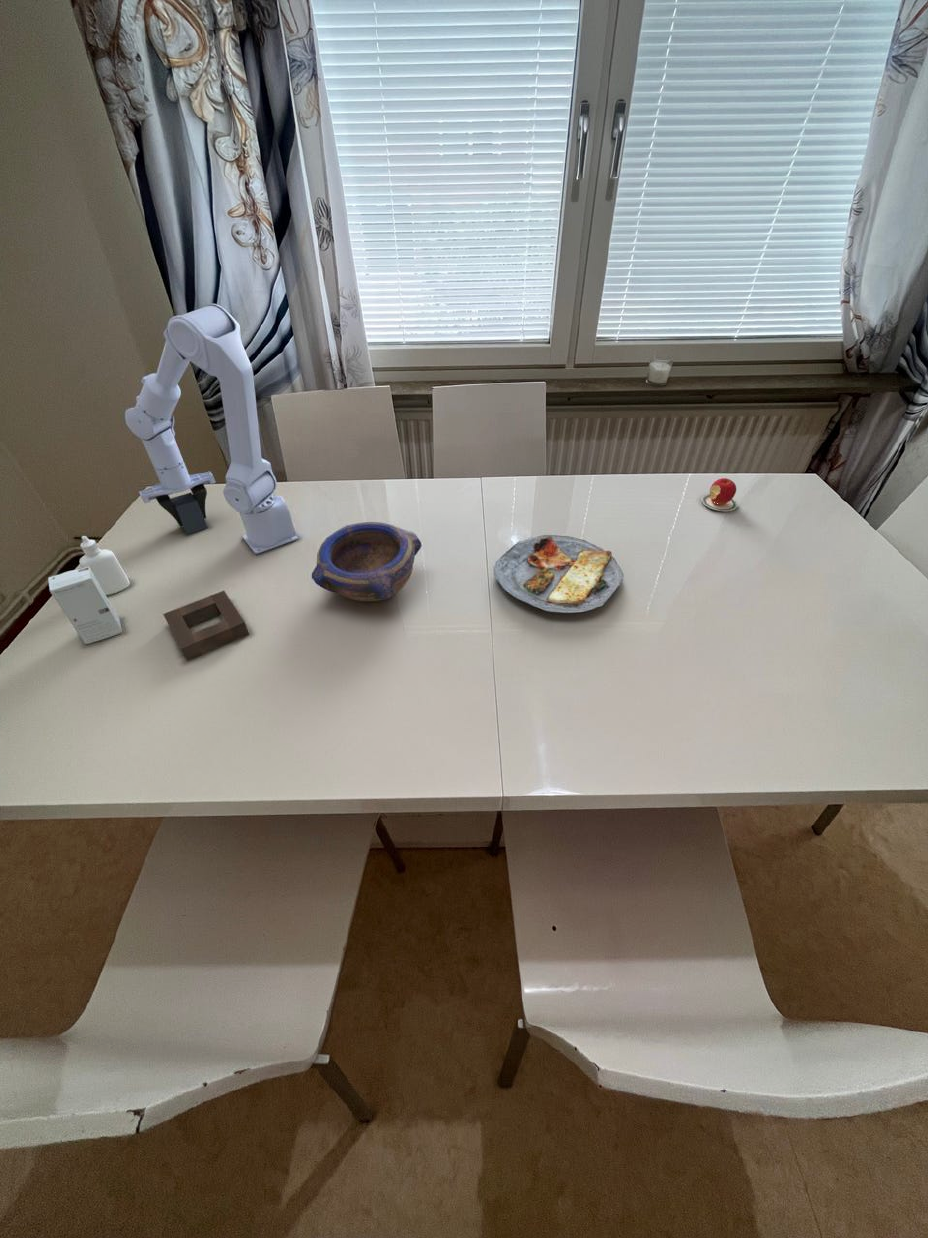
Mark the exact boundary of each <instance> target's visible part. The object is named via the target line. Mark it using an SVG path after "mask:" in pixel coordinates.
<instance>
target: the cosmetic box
mask: <svg viewBox="0 0 928 1238" xmlns="http://www.w3.org/2000/svg"><path fill="white" fill-rule="evenodd" d="M47 579H48V587H49V588H48V589H49V593H50V594H51V596H52V597H53V599H54V600H55V601H56V603H57V605H58V607H60V609H61V610H62V612H63V613H64V615H65V616H66V617H67V620H68V621H69V622H70V624H71V626H72V627H73V628H74V629H75V631H76V633H77V634H78V636H79V637H80V638H81V640H82V641H83V643H84V644H85V645H90V644H93V643H96V642H99V641H102V640H105V639H107V638H110V637H114V636H116V635H119V634H122V633H123V629H122V624H121V619H120V617H119V615H118V613H117V612H116V610H115V609H114V606H113V605H112V603H111V602H110V600H109V599H108V596H107V595H105V593H104V592H103V590H102V588H101V586H100V585H99V583H98V581H97V580H96V578H95V576H94V574H93V573H92V571H91V569H90V567H85V568H82V567H81V568H78V569H73V570H68V571H65V572H62V573H59V574H56V575H52V576H49V577H47Z"/></svg>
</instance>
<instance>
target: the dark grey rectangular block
mask: <svg viewBox="0 0 928 1238" xmlns="http://www.w3.org/2000/svg"><path fill="white" fill-rule="evenodd" d="M170 499H171V501H172V502H173V504H174V507H175V509H176V512H177V514H178V516H179V518H180V520H181V522H182V524H183V526H181V527H182V529H183V530H184V532H185V533H186V535H192V534H194V533H197V532H200V531H203V530H206V529H208V528H209V527H208V524H207V522H206V519H204V517H203V514H202V512H201V509H200V507H199V504H198V502H197V500H196V498H195V497H194V496H193V494H192V492H188V493H184V494H181V495H177V496H174V497H170Z"/></svg>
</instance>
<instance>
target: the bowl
mask: <svg viewBox="0 0 928 1238" xmlns="http://www.w3.org/2000/svg"><path fill="white" fill-rule="evenodd" d="M421 549H422V542H421V540H420V538H419V537H418V535H417V534H416V533H415V532H413V531H410V530H406V529H403V528H401V527H398V526H396V525H394V524H391V523H386V522H381V521H365V522H358V523H352V524H346V525H344V526H343V527H341V528H339V529H337V530H336V531H334V532H332V534H330V535H329V536H327V537H326V538H325V539H324V540H323V542H322V543H321V544H320V546H319V549H318V551H317V554H316V566H315V567H314V569H313V571H312V572H311V579H312V580H313V582H314V583H315V584H316V585H317V586H319V587H320V588H322V589H323V590H326V591H328V592H331V593H333V594H337V595H340V596H342V597H345V598H346V599H349V600H353V601H354V600H355V601H361V602H375V601H376V602H378V601H384V600H388V599H390V598H392V597H393V596H394V595H395V594H396V593H398V592H399V591H401V589H403V587H405V585H406V584H407V583H408V581H409V580H410V578H411V576H412V574H413V570H414V562H415V557H416V555H417V554H418V552H419V551H420V550H421Z"/></svg>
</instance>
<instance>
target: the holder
mask: <svg viewBox="0 0 928 1238" xmlns="http://www.w3.org/2000/svg"><path fill="white" fill-rule="evenodd" d="M162 614H163V617H164V619H165V621H166V623H167V626H168V627H169V629H170V631H171V632H172V635H173V638H174V639H175V642H176V643H177V646H178V647H179V650H180V651H181V653H182V655H183V657H184V659H185V661H186V662H189V661H190V660H193V659H195V658H198V657H200V656H202V655H204V654H207V653H210V652H211V651H214V650H216V649H219V648H221V647H224V646H225V645H227V644H230V643H232V642H234V641H237V640H239V639H242V638H245V637H246V636H248V635H250V632H249V629H248V627H247V624H246V622H245V620H244V619H243V617H242V615H241V614H240V612H239V611H238V609H237V608H236V606H235V604H233V602H232V600H231V598H230V597H229V596H228V594H227V593H226V591H225V590H222V591H219V592H217V593H214V594H211V595H209V596H206V597H204V598H201V599H198V600H195V601H193V602H191V603H188V604H185V605H183V606H180V607H177V608H175V609H173V610H170V611H168V612H167V611H166V612H165V613H162ZM219 616H220V618H221V619H222V621H218V622H217V623H215V624H212V625H210V626H207V627H205V628H203V629H200V630H198V631H195V632H193V633H192V631H190V628H192V627H194V626H196V625H199V624H202V623H204V622H207V621H209V620H210V619H215V618H216V617H219Z"/></svg>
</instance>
